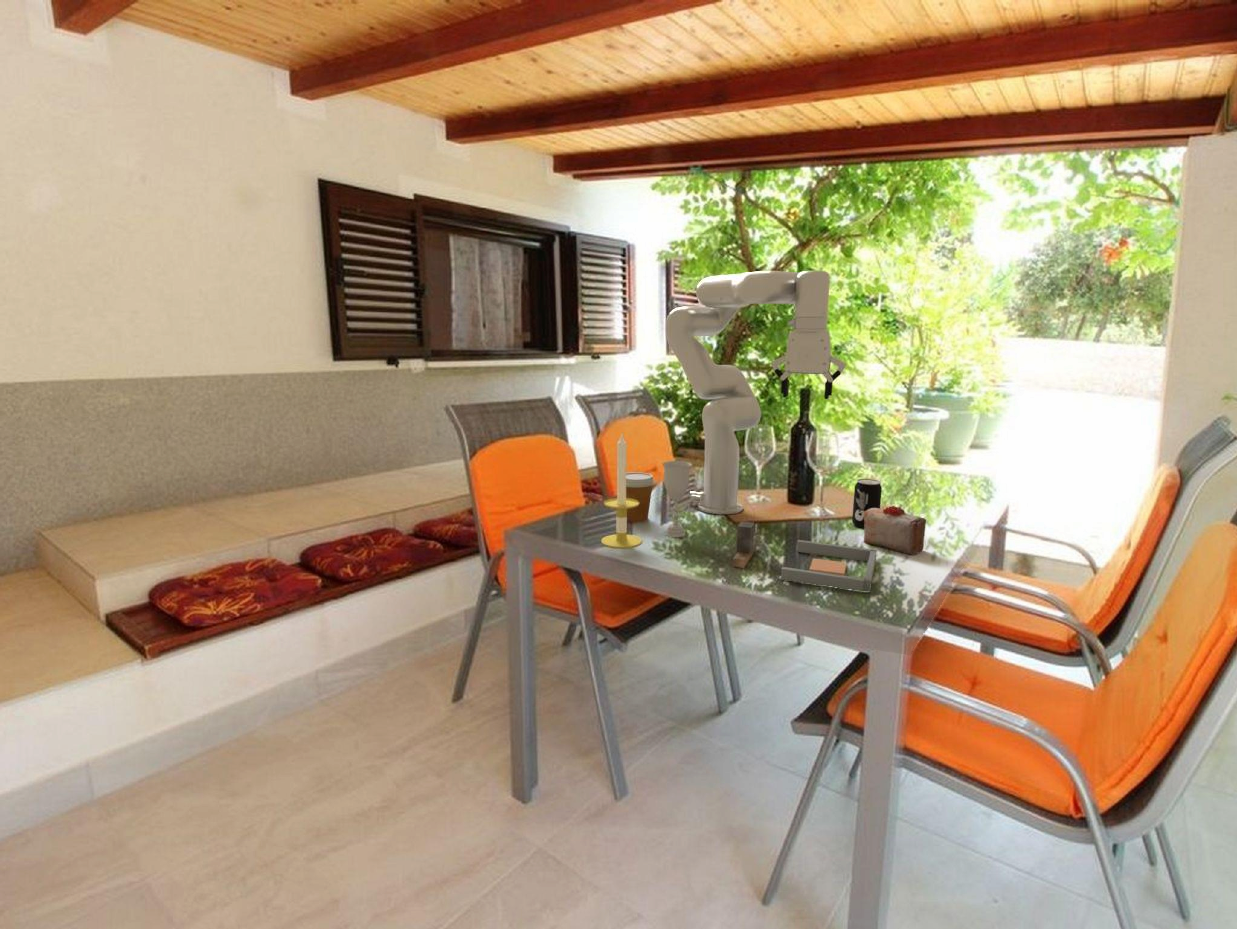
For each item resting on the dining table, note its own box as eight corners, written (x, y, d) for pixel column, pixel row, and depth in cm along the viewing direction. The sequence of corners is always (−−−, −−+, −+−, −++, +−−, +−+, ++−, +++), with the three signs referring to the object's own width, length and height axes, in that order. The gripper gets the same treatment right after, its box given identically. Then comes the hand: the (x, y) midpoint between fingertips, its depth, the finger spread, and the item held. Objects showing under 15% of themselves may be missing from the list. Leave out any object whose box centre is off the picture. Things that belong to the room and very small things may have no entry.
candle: (594, 538, 165) (594, 430, 160) (631, 533, 169) (632, 427, 164) (610, 550, 156) (610, 436, 151) (649, 545, 160) (650, 433, 155)
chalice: (692, 531, 171) (694, 462, 167) (686, 539, 164) (688, 467, 161) (665, 528, 173) (666, 460, 169) (657, 536, 167) (658, 465, 163)
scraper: (731, 566, 147) (732, 531, 145) (744, 548, 159) (745, 516, 157) (745, 568, 146) (746, 533, 144) (756, 550, 157) (758, 517, 156)
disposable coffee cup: (612, 516, 183) (612, 474, 181) (642, 512, 188) (643, 470, 185) (628, 526, 175) (629, 481, 173) (660, 521, 179) (661, 477, 177)
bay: (780, 580, 139) (781, 568, 138) (797, 550, 157) (798, 539, 157) (869, 593, 132) (870, 581, 131) (875, 560, 150) (876, 549, 150)
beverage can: (880, 530, 172) (884, 484, 170) (853, 528, 173) (857, 483, 171) (876, 522, 178) (879, 478, 176) (850, 521, 180) (853, 477, 177)
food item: (856, 542, 163) (859, 503, 161) (874, 536, 168) (877, 497, 166) (910, 557, 152) (914, 515, 150) (927, 550, 157) (932, 509, 155)
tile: (809, 575, 143) (809, 569, 142) (812, 564, 149) (813, 558, 149) (843, 580, 140) (844, 573, 140) (845, 569, 147) (846, 562, 146)
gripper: (770, 325, 159) (766, 397, 162) (847, 325, 152) (841, 401, 155) (776, 325, 165) (772, 394, 169) (850, 325, 158) (845, 397, 162)
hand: (805, 397), depth 162 cm, fingers open, 9 cm apart
